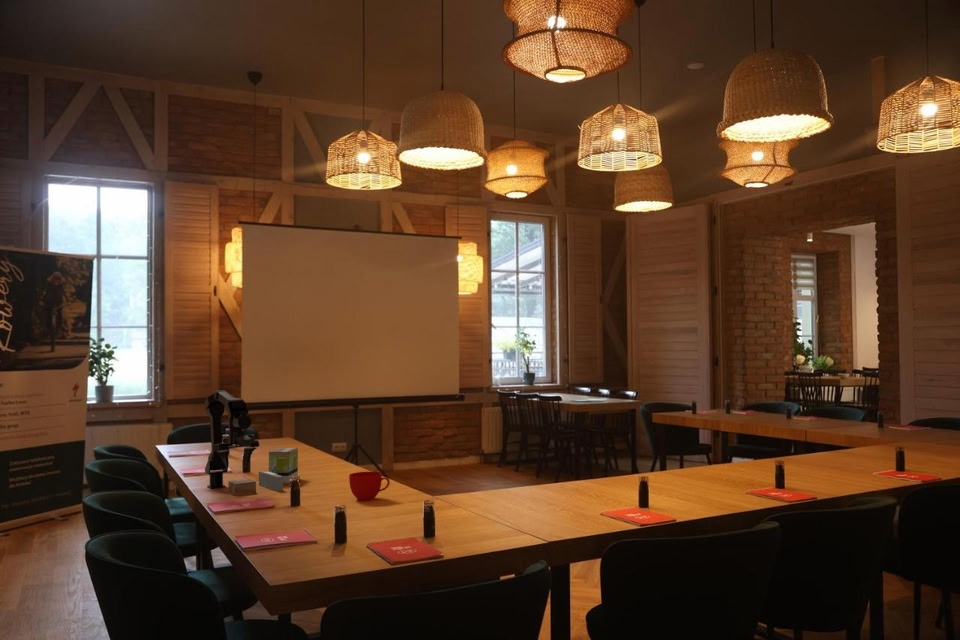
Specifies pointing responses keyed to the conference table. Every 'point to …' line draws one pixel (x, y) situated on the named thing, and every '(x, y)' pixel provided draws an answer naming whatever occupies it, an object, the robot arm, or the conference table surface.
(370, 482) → the ceramic cup
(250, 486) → the walnut block
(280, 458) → the tea box
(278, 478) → the gray and cream block
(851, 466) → the conference table surface
